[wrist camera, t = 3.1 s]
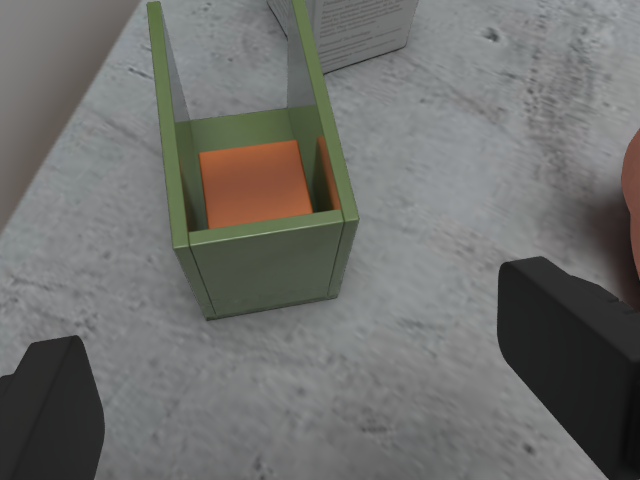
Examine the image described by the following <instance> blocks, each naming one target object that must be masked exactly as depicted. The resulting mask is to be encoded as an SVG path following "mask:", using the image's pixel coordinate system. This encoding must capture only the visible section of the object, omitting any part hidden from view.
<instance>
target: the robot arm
mask: <svg viewBox="0 0 640 480" xmlns="http://www.w3.org/2000/svg"><path fill="white" fill-rule="evenodd" d="M497 337H498V343H499V347H500V350H501V352H502V355H503V357H504V359H505V360H506V362H507V363H508V364H509V366H510V367H511V368H512V369H513V370H514V371H515V373H516V374H517V375H518V376H519V377H520V378H521V379H522V381H523V382H524V383H525V384H526V385H527V386H528V387H529V389H530V390H531V391H532V392H533V393H534V394H535V395H536V397H537V398H538V399H539V400H540V401H541V402H542V403H543V405H544V406H545V407H546V408H547V409H548V410H549V411H550V413H551V414H552V415H553V416H554V417H555V418H556V419H557V421H558V422H559V423H560V424H561V425H562V426H563V428H564V429H565V430H566V431H567V432H568V433H569V434H570V436H571V437H572V438H573V439H574V440H575V441H576V442H577V444H578V445H579V446H580V447H581V448H582V449H583V450H584V452H585V453H586V454H587V455H588V456H589V457H590V458H591V460H592V461H593V462H594V463H595V464H596V465H597V466H598V468H599V469H600V470H601V471H602V472H603V473H604V475H605V476H606V477H607V478H608V479H609V480H639V479H640V313H639V312H637V313H635V309H633V308H632V307H630V306H629V305H627V304H626V303H624V302H623V301H619V300H618V298H617V297H616V296H614V295H613V294H611V293H610V292H608V291H607V290H605V289H604V288H602V287H601V286H599V285H597V284H594V283H592V282H589V281H586V280H583V279H581V278H578V277H575V276H570V275H569V274H567V273H566V272H565V271H563V270H562V269H560V268H559V267H557V266H556V265H555V264H553V263H552V262H550V261H549V260H547V259H546V258H544V257H541V256H539V257H533V258H527V259H521V260H515V261H510V262H505V263H503V264H502V265H501V267H500V270H499V276H498V313H497ZM104 434H105V422H104V413H103V408H102V404H101V400H100V397H99V394H98V390H97V387H96V384H95V380H94V377H93V374H92V370H91V367H90V364H89V360H88V357H87V354H86V350H85V347H84V344H83V342H82V340H81V339H80V337H79V336H77V335H74V336H68V337H63V338H57V339H51V340H45V341H39V342H34V343H32V344H30V346H29V347H28V349H27V351H26V353H25V355H24V356H23V358H22V360H21V362H20V364H19V365H18V367H17V369H16V371H15V372H14V374H11V375H5V376H2V377H1V378H0V480H94V477H95V474H96V470H97V466H98V462H99V458H100V454H101V450H102V446H103V442H104Z"/></svg>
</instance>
